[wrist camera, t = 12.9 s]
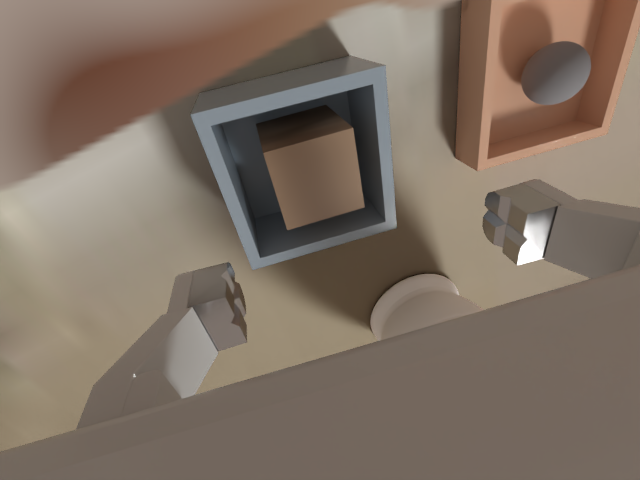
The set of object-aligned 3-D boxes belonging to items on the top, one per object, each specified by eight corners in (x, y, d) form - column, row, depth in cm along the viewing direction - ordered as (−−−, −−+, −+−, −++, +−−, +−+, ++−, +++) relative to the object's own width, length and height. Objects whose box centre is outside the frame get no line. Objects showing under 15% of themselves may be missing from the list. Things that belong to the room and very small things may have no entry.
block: (325, 104, 19) (353, 127, 14) (338, 171, 21) (364, 207, 17) (255, 123, 18) (263, 153, 14) (275, 189, 21) (287, 230, 16)
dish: (613, -40, 18) (661, -48, 16) (574, 124, 24) (607, 134, 22) (461, -3, 18) (492, -6, 16) (455, 157, 23) (477, 171, 21)
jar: (350, 282, 27) (451, 501, 15) (469, 246, 28) (662, 425, 15) (364, 362, 33) (445, 564, 21) (462, 330, 34) (597, 507, 21)
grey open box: (350, 55, 18) (385, 65, 14) (366, 190, 23) (396, 227, 19) (199, 93, 17) (190, 114, 13) (248, 224, 22) (252, 270, 18)
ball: (563, 34, 19) (615, 35, 17) (552, 92, 21) (597, 102, 19) (512, 47, 19) (557, 50, 17) (505, 105, 21) (544, 116, 18)
